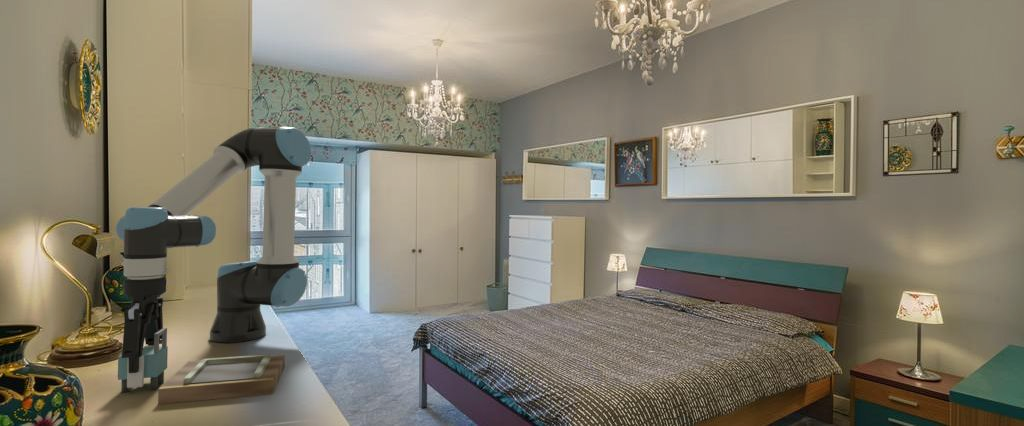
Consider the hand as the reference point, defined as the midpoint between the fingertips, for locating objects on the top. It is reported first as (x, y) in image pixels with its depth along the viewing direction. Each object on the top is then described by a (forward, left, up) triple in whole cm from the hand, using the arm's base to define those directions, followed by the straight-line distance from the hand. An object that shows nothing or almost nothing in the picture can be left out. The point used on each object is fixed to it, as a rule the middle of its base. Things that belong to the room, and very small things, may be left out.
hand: (143, 380), depth 104 cm
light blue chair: (0, 0, -2) cm, 2 cm away
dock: (+2, +17, -2) cm, 17 cm away
